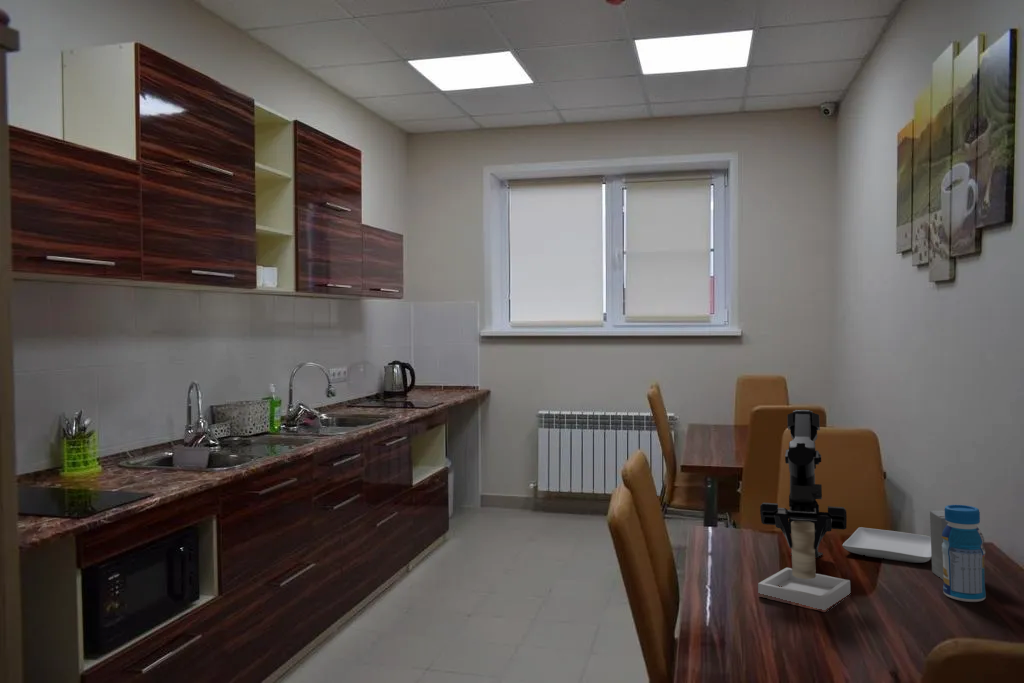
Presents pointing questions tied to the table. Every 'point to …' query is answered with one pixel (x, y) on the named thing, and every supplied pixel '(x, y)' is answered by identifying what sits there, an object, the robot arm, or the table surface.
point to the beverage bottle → (963, 554)
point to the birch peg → (803, 549)
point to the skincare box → (937, 541)
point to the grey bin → (805, 589)
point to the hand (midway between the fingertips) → (803, 548)
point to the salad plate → (890, 545)
